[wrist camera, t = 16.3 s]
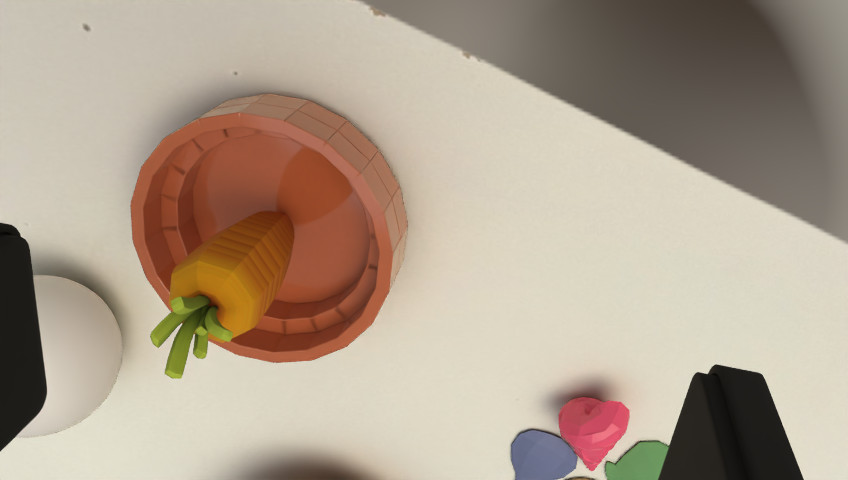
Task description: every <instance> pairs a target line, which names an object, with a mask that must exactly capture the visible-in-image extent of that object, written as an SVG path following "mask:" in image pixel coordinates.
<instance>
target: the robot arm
mask: <svg viewBox="0 0 848 480" xmlns="http://www.w3.org/2000/svg"><path fill="white" fill-rule="evenodd" d="M46 397H47V383H46V375H45V367H44V359H43V351H42V343H41V335H40V327H39V319H38V311H37V304H36V296H35V288H34V280H33V272H32V264H31V256H30V249H29V245H28V243H27V241H26V240H25V239H24V238H22V237H21V236H20V233H19V232H18V230H17V229H16V228H15V227H14V226H12V225H9V224H4V223H0V451H1V450H2V449H3V448H4V447H5V446H6V445H7V444H8V443H10V442H11V441H12V440H13V439H14V438H15V437H16V436H17V435H18V434H19V433H20V432H21V431H22V430H23V429H24V428H25V427H26V426H27V425H28V424H29V423H30V422H31V421H32V420H33V419H34V418H35V417H36V416H37V415H38V414H39V412H40V411H41V409H42V408H43V406H44V403H45V401H46ZM658 480H804V479H803V477H802V474H801V472H800V469H799V466H798V464H797V461H796V459H795V456H794V453H793V451H792V448H791V446H790V443H789V440H788V438H787V435H786V433H785V430H784V427H783V425H782V422H781V420H780V417H779V415H778V412H777V409H776V407H775V404H774V402H773V399H772V396H771V394H770V391H769V389H768V386H767V383H766V381H765V379H764V377H763V375H762V374H760V373H757V372H752V371H747V370H742V369H737V368H732V367H726V366H721V365H714V366H713V367H712V368H711V369H710V371H709V373H708V374H704V373H699V372H697V373H695V375H694V376H693V378H692V381H691V383H690V386H689V389H688V392H687V395H686V398H685V401H684V404H683V407H682V410H681V413H680V416H679V419H678V422H677V425H676V428H675V431H674V434H673V437H672V440H671V442H670V445H669V448H668V451H667V454H666V457H665V460H664V463H663V466H662V469H661V472H660V475H659V478H658Z"/></svg>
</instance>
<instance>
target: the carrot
mask: <svg viewBox="0 0 848 480" xmlns="http://www.w3.org/2000/svg"><path fill="white" fill-rule="evenodd" d="M294 238H295V236H294V227H293V224H292V221H291V220H290V218H289V217H288V215H287V214H283V213H280V212H274V211H261V212H257V213H255V214H253V215H251V216H248V217H247V218H245V219H243V220H241V221H239V222H237V223H236V224H234V225H232V226H230V227H228V228H226V229H225V230H223V231H221V232H219V233H217V234H215V235H214V236H212V237H210V238H209V239H208V240H207V241H205V242H204V243H203V244H202V245H200V246H199V247H198V248H197V249H195V250H194V251H193V252H192V253H191V254H189V255H188V256H187V257H186V258H185V259H184V260H183V261H181V262H180V263H179V264H178V265H177V266H176V267H175V268H174V270H173V272H172V275H171V285H170V295H169V306H170V307H171V309H172V310H173V312H171V313H170V314H169V315H168V316H167V317H166V318H165V319H164V320H162V321H161V322H160V323H159V325H158V326H157V327H156V328H155V329H154V330H153V331H152V333H151V336H150V337H151V340H152V342H153V344H154V345H155V346H156V347H158V348H159V347H160V346H161V345H162V344H163V342H164V341H165V340H166V339H167V338H168V337H169V336H170V335H171V333H172V332H173V331H174V330H175V329H176V328H177V326H179V325H180V324H181V323H183V324H182V326H181V327H180V329H179V331H178V333H177V335H176V337H175V339H174V341H173V345H172V348H171V351H170V354H169V357H168V360H167V365H166V369H165V374H166V375H168V376H169V377H171V378H178V379H180V378H181V377H182V375H183V371H184V367H185V364H186V360H187V356H188V352H189V347H190V343H191V340H192V337H193V335H194V334H195V341H194V349H193V354H194V355H195V356H196V357H197V358H201V359H203V358H205V357H206V354H207V345H208V338H209V339H212V340H215V341H218V342H221V343H224V342H226V341H228V342H230V340H231V339H232V338H234V337H236V336H238V335H240V334H242V333H245V332H247V331H249V330H251V329H252V328H254V327H255V326H256V325H257V324H258V323H259V321H260V320H261V318H262V317H263V315H264V314H265V312H266V311H267V309H268V308H269V306H270V305H271V303H272V301H273V300H274V298H275V296H276V295H277V293H278V291H279V290H280V288H281V286H282V283H283V280H284V278H285V275H286V272H287V269H288V266H289V262H290V259H291V254H292V249H293V244H294Z"/></svg>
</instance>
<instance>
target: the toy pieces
mask: <svg viewBox="0 0 848 480" xmlns="http://www.w3.org/2000/svg"><path fill="white" fill-rule="evenodd" d="M628 421H629V410H628V409H627V408H626V407H625V406H624V405H623V404H622V403H621V402H616V401H609V400H608V401H606V402H602V401H600V400H598V399H595V398H588V397H580V398H575V399H572V400H570V401H569V402H568V403H566V404H565V405H564V406H562V408H561V411H560V413H559V428H560V433H561V436H562V437H563V438H564V439H566V440H567V441H568V443H569V444H570V445H571V446H572V447H573V448H574V452H575V453H576V454H578V456H579V457H580V458H581V459H582V460H583V462H584V464H585V465H587V468H589V470H591V471H593V470H595V468H596V467H597V465H598V464H599V463H600V462H601V461H602V459H603V458H604V457H605V455H607V453H608V451H609V450H611V449H612V448H613V447H614V445H615V444H616V442H617V441H618V440H619V439H620V438H621V437H622V436H623V435H624V434H625V432H626V429H627V425H628ZM668 448H669V447H668V446H666V445H665V444H663V443H661V442H659V441H649V442H639V443H638V444H636V445H635V446H634V447H633V448H632V449H631V450H629V451H628V452H627V453H626V454H625V455H624V456H623V457H622V458H621V459H620V460H619V461H618V462H617V463H616V464H614V463H611V462H608V461H607V463H606V466H605V469H606V476H607V479H608V480H658V478H659V475H660V472H661V469H662V466H663V463H664V460H665V457H666V454H667V451H668ZM574 452H573V450H572V449H571V448H570V446H568V445H567V444H566V443H565V442H564V441H563V440H562V439H561V438H558V437H556V436H553V435H551V434H548V433H544V432H540V431H536V430H531V431H528V432H524V433H521V434H519V436H518V437H517V438H516V440H515V441H514V442H513V444H512V445H511V453H512V463H513V466H514V469H515V472H516V479H515V480H556V479H560V478H563V477H565V476H566V475H568V474H569V473H570V472H572V471H573V470H574V469H576V463H577V456H576V455H575V453H574ZM570 480H591V479H587V478H574V479H570Z"/></svg>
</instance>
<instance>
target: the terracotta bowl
mask: <svg viewBox="0 0 848 480" xmlns="http://www.w3.org/2000/svg"><path fill="white" fill-rule="evenodd" d="M261 211H274V212H280V213H283V214H287V215H288V217H289V218H290V220H291V221H292V224H293V227H294V236H295V238H294V244H293V249H292V254H291V259H290V262H289V266H288V269H287V272H286V275H285V278H284V280H283V283H282V286H281V288H280V290H279V291H278V293H277V295H276V296H275V298H274V300H273V301H272V303H271V305H270V306H269V308H268V309H267V311H266V312H265V314H264V315H263V317H262V318H261V320H260V321H259V323H258V324H257V325H256V326H255V327H254V328H252V329H251V330H249V331H247V332H245V333H242V334H240V335H238V336H236V337H234V338H232V339H231V340H230V342H228V341H226V342H224V343H221V342H218V341H215V340H212V339H209V338H208V341H210V342H212V343H214V344H216V345H218V346H220V347H222V348H224V349H226V350H228V351H230V352H232V353H234V354H237V355H240V356H244V357H249V358H254V359H259V360H263V361H268V362H273V363H275V362H276V363H281V362H296V361H311V360H315V359H317V358H320V357H322V356H325V355H327V354H330V353H332V352H335V351H337V350H340V349H342V348H345V347H347V346H348V345H349V344H350V343H351V342H352V341H354V340H355V339H356V338H357V337H358V336H359V335H360V334H362V333H363V332H364V331H365V330H366V329H367V328H368V327H369V326H371V325H372V323H373V322H374V320H375V318H376V316H377V314H378V312H379V310H380V308H381V306H382V305H383V303H384V301H385V299H386V297H387V295H388V293H389V291H390V289H391V287H392V284H393V282H394V280H395V278H396V276H397V273H398V271H399V269H400V267H401V265H402V263H403V260H404V253H405V245H406V237H407V229H408V222H407V217H406V213H405V208H404V203H403V199H402V194H401V190H400V186H399V184H398V182H397V180H396V179H395V177H394V175H393V173H392V172H391V170H390V168H389V166H388V165H387V163H386V161H385V159H384V158H383V156H382V154H381V152H380V151H379V150H378V149H377V148H376V147H375V146H374V145H373V144H372V143H371V142H370V141H369V140H368V139H367V138H366V137H365V136H364V135H363V134H362V133H361V132H359V131H358V130H357V129H356V128H355V127H354V126H353V125H352V124H351V123H350V122H349V121H347V120H346V119H344V118H342V117H341V116H339V115H337V114H335V113H333V112H331V111H329V110H327V109H325V108H323V107H321V106H319V105H317V104H315V103H313V102H311V101H308V100H304V99H298V98H292V97H286V96H280V95H274V94H261V95H255V96H248V97H242V98H236V99H230V100H228V101H226V102H224V103H222V104H221V105H219V106H217V107H215V108H214V109H212V110H210V111H208V112H207V113H205V114H203V115H201V116H200V117H198V118H196V119H195V120H193V121H191V122H190V123H188V124H186V125H185V126H183V127H181V128H180V129H178V130H176V131H175V132H173V133H171V134H170V135H168V136H167V137H165V138H164V139H163V140H162V141H161V142H160V144H159V145H158V146H157V148H156V149H155V150H154V151H153V153H152V154H151V155H150V157H149V158H148V159H147V160H146V162H145V163H144V164H143V165H142V167H141V170H140V173H139V177H138V180H137V183H136V187H135V190H134V194H133V197H132V200H131V220H132V237H133V243H134V246H135V249H136V251H137V254H138V257H139V259H140V262H141V265H142V267H143V270H144V273H145V275H146V278H147V280H148V281H149V282H150V284H151V285H152V287H153V288H154V289H155V291H156V292H157V294H158V295H159V296H160V298H161V299H162V301H163V302H164V303H165V305H166V306H167V307H168V309H169V310H170V311H171V312H173V310H172V309H171V307H170V306H169V295H170V285H171V275H172V272H173V270H174V268H175V267H176V266H177V265H178V264H179V263H180V262H181V261H183V260H184V259H185V258H186V257H187V256H188V255H189V254H191V253H192V252H193V251H194V250H195V249H197V248H198V247H199V246H200V245H202V244H203V243H204V242H205V241H207V240H208V239H209V238H210V237H212V236H214V235H215V234H217V233H219V232H221V231H223V230H225V229H226V228H228V227H230V226H232V225H234V224H236V223H237V222H239V221H241V220H243V219H245V218H247V217H248V216H251V215H253V214H255V213H257V212H261Z"/></svg>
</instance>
